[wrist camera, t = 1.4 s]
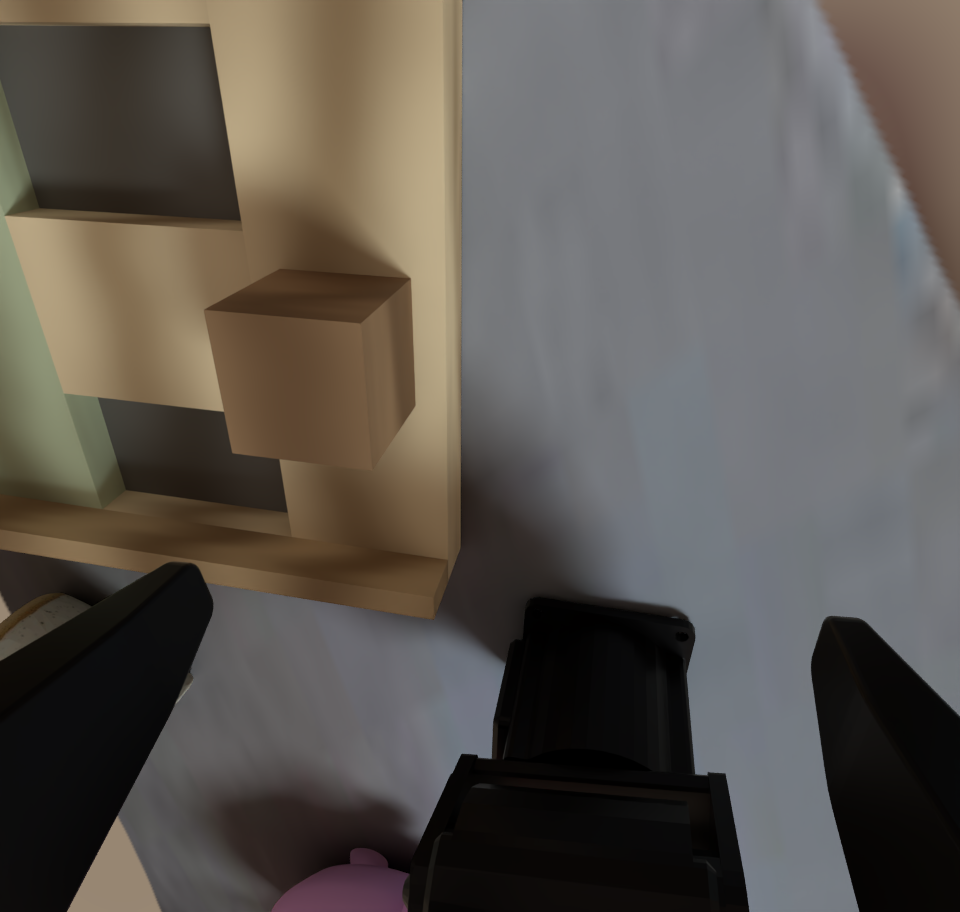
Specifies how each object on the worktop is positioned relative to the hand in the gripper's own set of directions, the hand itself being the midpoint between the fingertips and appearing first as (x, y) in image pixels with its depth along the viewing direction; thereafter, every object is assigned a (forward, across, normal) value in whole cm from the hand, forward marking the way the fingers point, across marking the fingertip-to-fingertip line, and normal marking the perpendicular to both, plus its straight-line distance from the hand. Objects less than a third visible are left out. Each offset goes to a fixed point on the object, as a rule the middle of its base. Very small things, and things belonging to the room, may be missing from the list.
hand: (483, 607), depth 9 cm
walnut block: (+11, +6, +1) cm, 13 cm away
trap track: (+13, +13, 0) cm, 19 cm away
